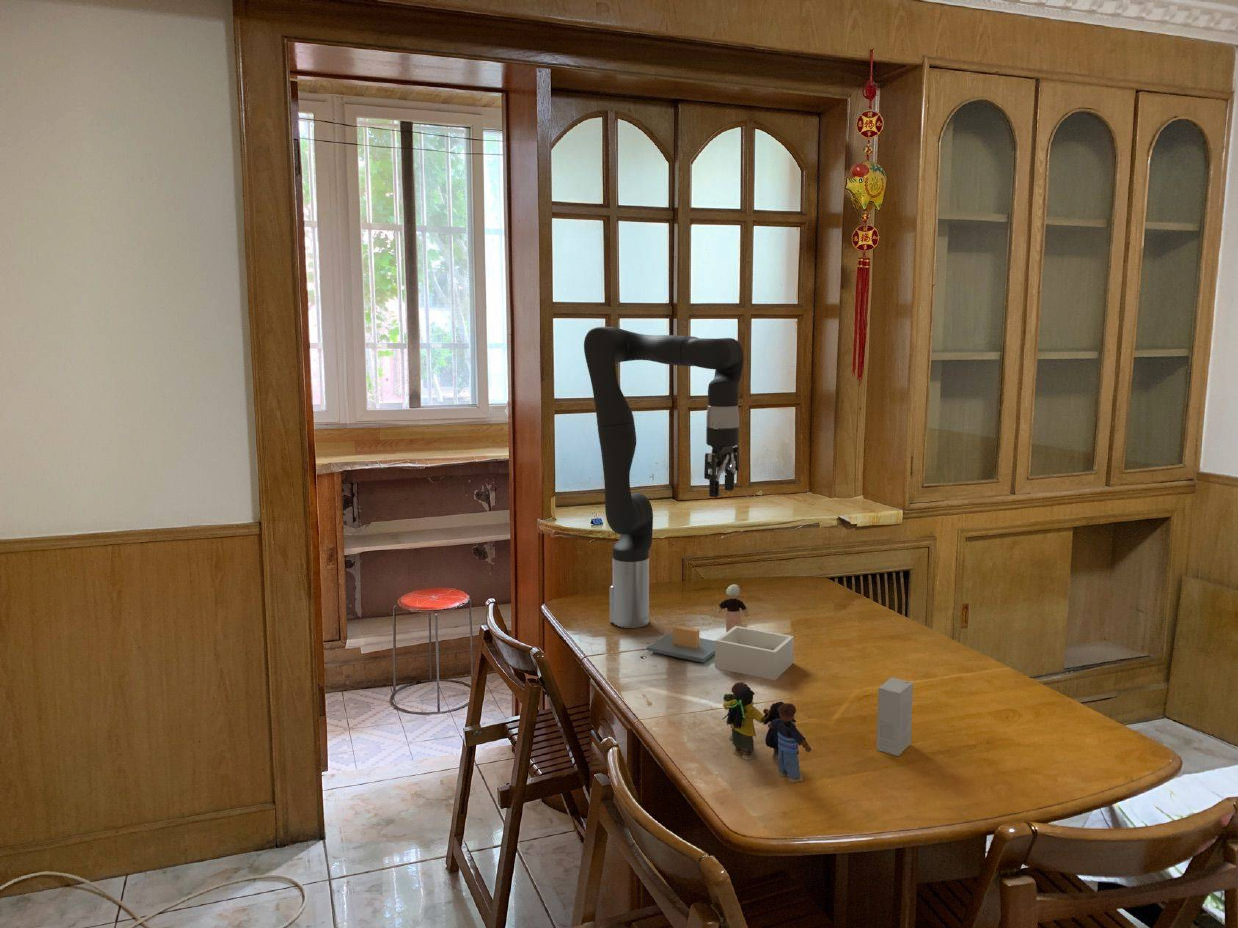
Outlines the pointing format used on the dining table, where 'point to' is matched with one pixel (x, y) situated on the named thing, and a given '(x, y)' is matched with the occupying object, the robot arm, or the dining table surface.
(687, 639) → the lid
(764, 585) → the dining table surface
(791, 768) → the doll family
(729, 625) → the grandmother figurine
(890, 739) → the skincare box
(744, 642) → the small white cabinet
